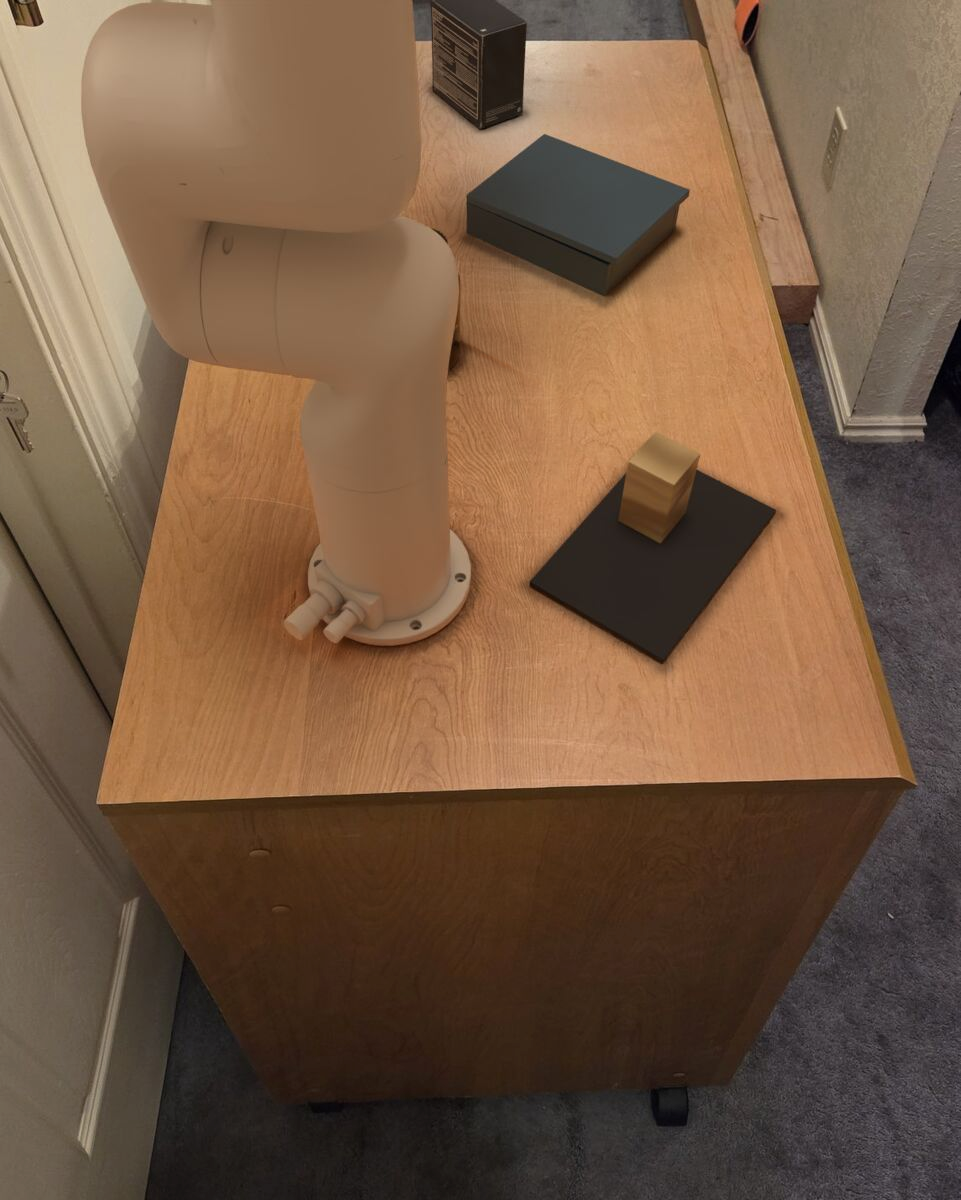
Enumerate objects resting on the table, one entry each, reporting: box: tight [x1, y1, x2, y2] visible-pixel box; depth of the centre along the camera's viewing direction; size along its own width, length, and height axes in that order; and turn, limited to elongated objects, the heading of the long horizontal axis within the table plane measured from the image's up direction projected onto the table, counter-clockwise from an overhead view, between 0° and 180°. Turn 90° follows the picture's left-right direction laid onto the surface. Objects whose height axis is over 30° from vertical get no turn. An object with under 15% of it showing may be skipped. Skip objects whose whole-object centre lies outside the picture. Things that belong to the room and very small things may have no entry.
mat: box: [529, 468, 777, 664], centre depth 83 cm, size 18×12×1 cm, turn 144°
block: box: [618, 431, 701, 543], centre depth 81 cm, size 4×4×7 cm
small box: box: [429, 0, 528, 129], centre depth 117 cm, size 11×6×10 cm, turn 34°
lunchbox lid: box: [465, 133, 691, 265], centre depth 103 cm, size 17×14×1 cm
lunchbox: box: [465, 201, 681, 297], centre depth 105 cm, size 17×14×4 cm
